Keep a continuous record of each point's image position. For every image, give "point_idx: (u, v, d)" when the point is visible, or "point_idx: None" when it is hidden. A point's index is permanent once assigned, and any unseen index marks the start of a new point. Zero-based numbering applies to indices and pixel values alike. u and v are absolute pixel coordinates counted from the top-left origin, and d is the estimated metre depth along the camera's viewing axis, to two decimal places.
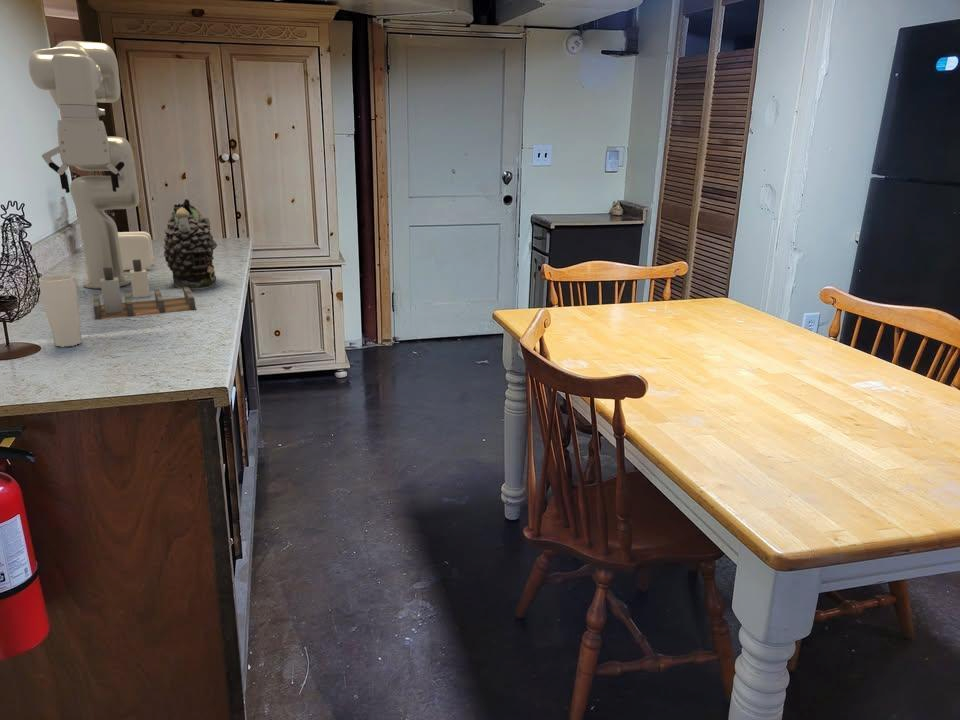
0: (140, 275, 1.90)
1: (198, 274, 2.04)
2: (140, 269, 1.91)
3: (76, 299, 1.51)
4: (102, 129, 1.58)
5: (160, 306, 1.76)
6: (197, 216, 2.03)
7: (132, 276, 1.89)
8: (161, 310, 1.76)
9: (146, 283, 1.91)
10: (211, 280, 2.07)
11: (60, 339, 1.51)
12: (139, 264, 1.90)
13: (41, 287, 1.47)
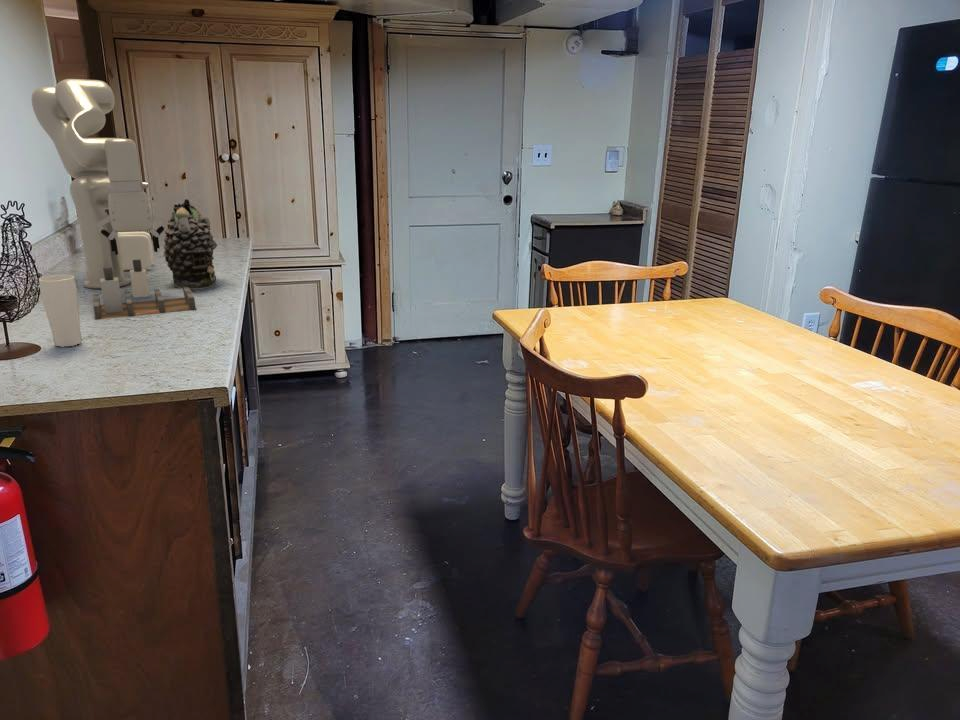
0: (140, 275, 1.90)
1: (198, 274, 2.04)
2: (140, 269, 1.91)
3: (76, 299, 1.51)
4: (146, 200, 1.85)
5: (160, 306, 1.76)
6: (197, 216, 2.03)
7: (132, 276, 1.89)
8: (161, 310, 1.76)
9: (146, 283, 1.91)
10: (211, 280, 2.07)
11: (60, 339, 1.51)
12: (139, 264, 1.90)
13: (41, 287, 1.47)
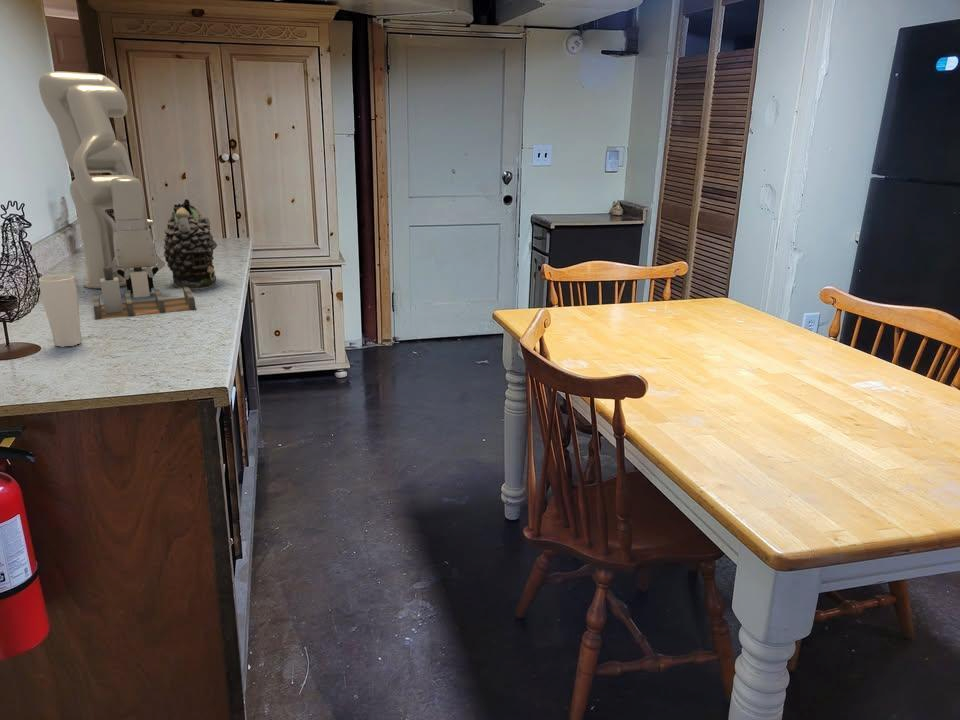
0: (140, 275, 1.90)
1: (198, 274, 2.04)
2: (140, 269, 1.91)
3: (76, 299, 1.51)
4: (150, 237, 1.88)
5: (160, 306, 1.76)
6: (197, 216, 2.03)
7: (132, 276, 1.89)
8: (161, 310, 1.76)
9: (146, 283, 1.91)
10: (211, 280, 2.07)
11: (60, 339, 1.51)
12: None
13: (41, 287, 1.47)
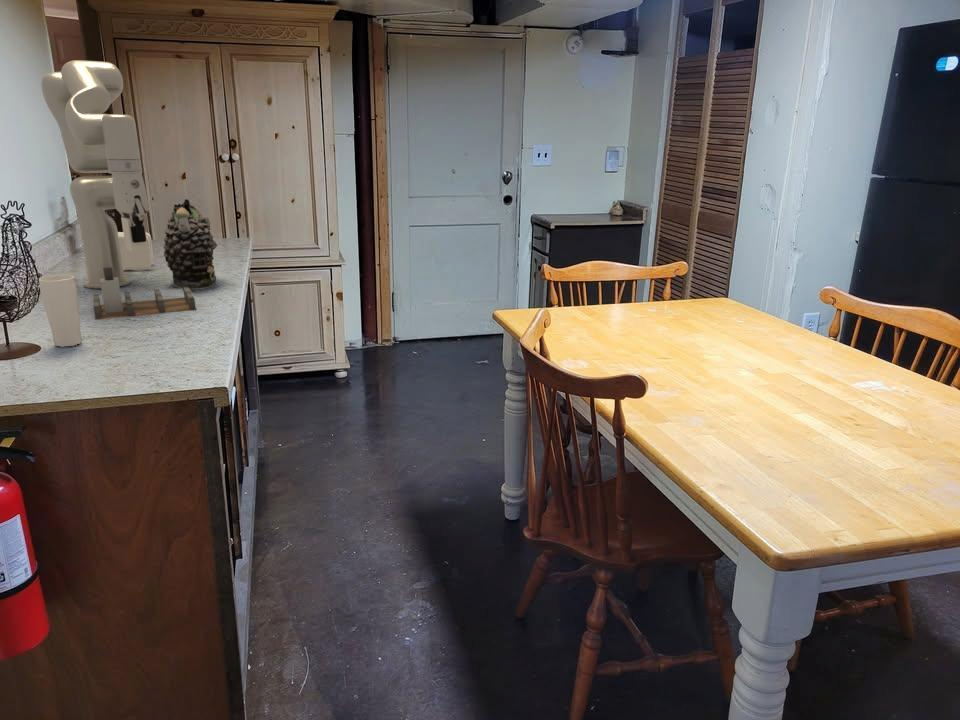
0: (125, 221, 1.76)
1: (198, 274, 2.04)
2: None
3: (76, 299, 1.51)
4: (125, 181, 1.70)
5: (160, 306, 1.76)
6: (197, 216, 2.03)
7: (122, 221, 1.77)
8: (161, 310, 1.76)
9: (128, 231, 1.76)
10: (211, 280, 2.07)
11: (60, 339, 1.51)
12: None
13: (41, 287, 1.47)
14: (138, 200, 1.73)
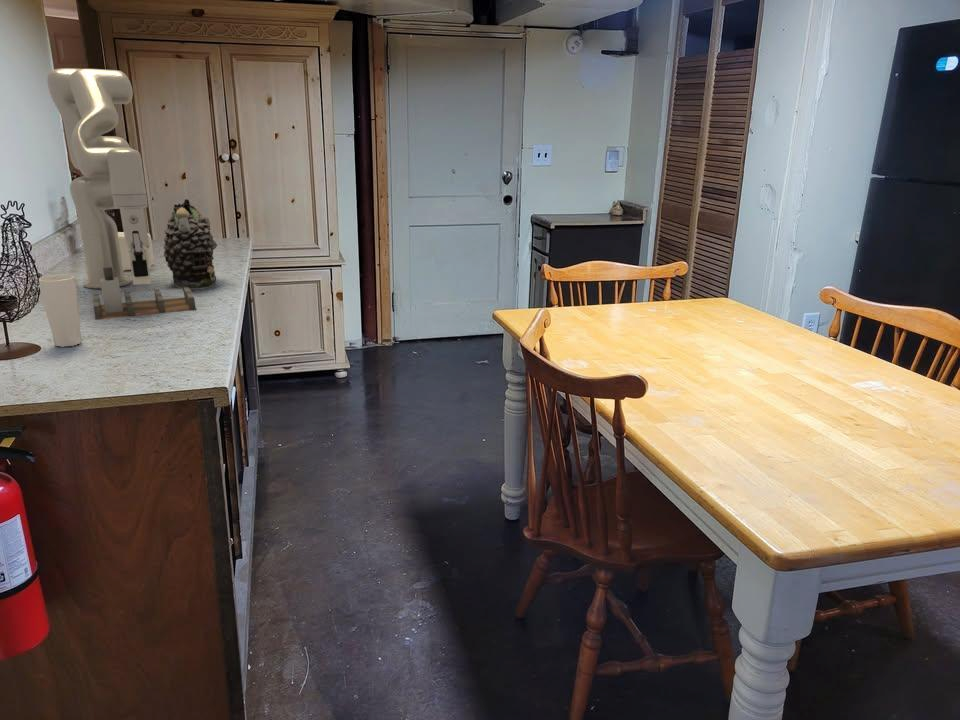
0: (129, 255, 1.75)
1: (198, 274, 2.04)
2: None
3: (76, 299, 1.51)
4: (124, 216, 1.69)
5: (160, 306, 1.76)
6: (197, 216, 2.03)
7: None
8: (161, 310, 1.76)
9: None
10: (211, 280, 2.07)
11: (60, 339, 1.51)
12: None
13: (41, 287, 1.47)
14: (137, 235, 1.70)
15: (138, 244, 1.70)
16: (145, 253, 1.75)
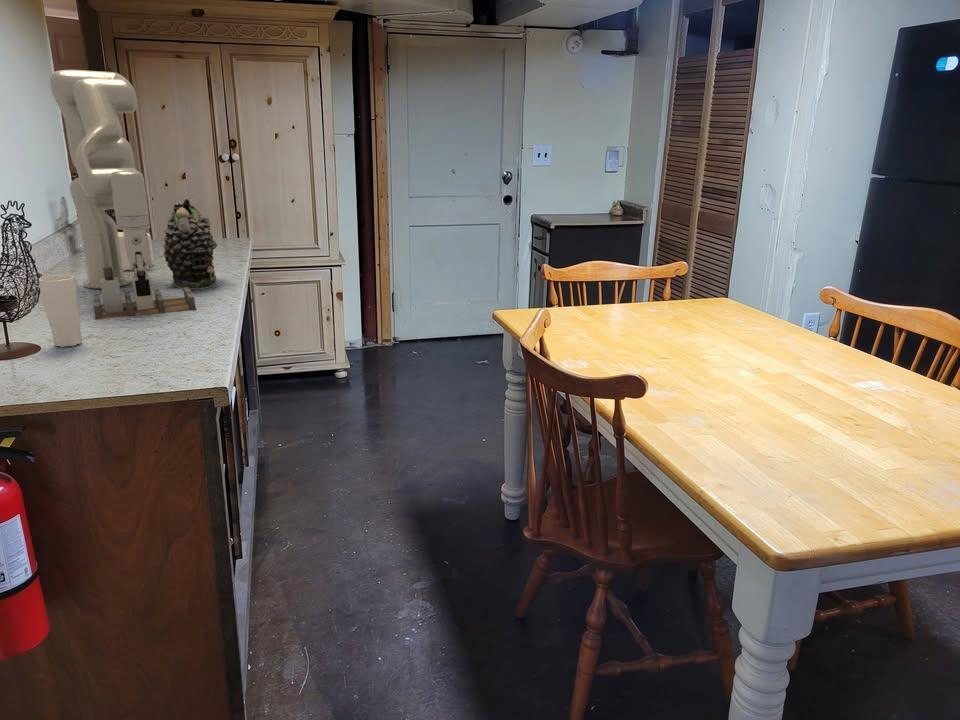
0: None
1: (198, 274, 2.04)
2: None
3: (76, 299, 1.51)
4: (127, 238, 1.70)
5: (160, 306, 1.76)
6: (197, 216, 2.03)
7: (132, 280, 1.79)
8: (161, 310, 1.76)
9: (134, 291, 1.77)
10: (211, 280, 2.07)
11: (60, 339, 1.51)
12: None
13: (41, 287, 1.47)
14: (139, 256, 1.72)
15: (140, 262, 1.71)
16: (148, 279, 1.77)
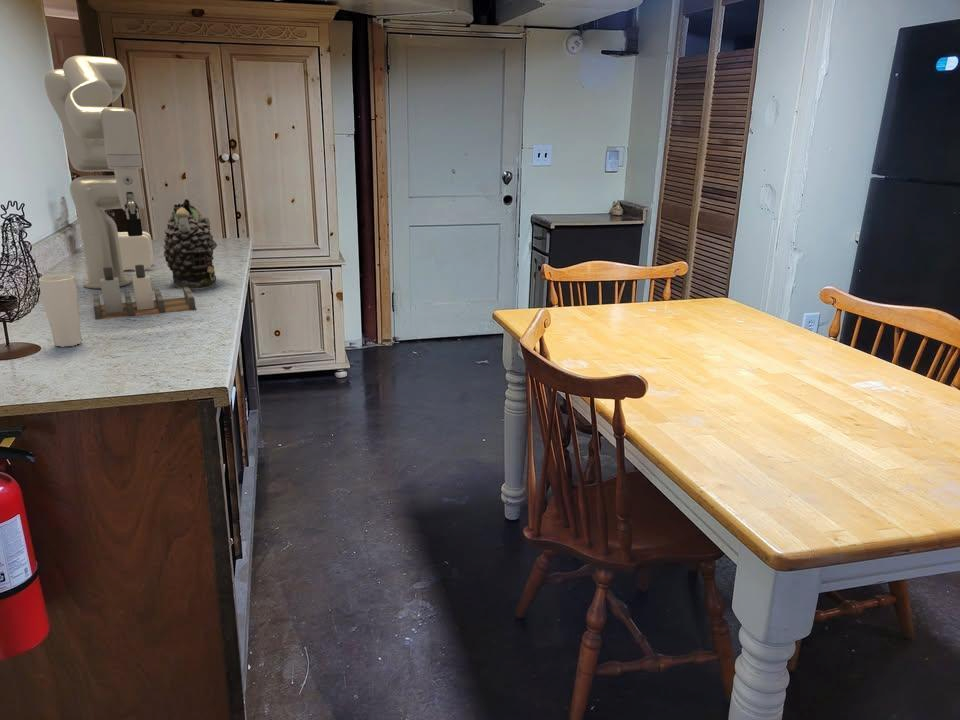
0: None
1: (198, 274, 2.04)
2: (137, 275, 1.77)
3: (76, 299, 1.51)
4: (118, 177, 1.66)
5: (160, 306, 1.76)
6: (197, 216, 2.03)
7: (132, 280, 1.79)
8: (161, 310, 1.76)
9: (134, 291, 1.77)
10: (211, 280, 2.07)
11: (60, 339, 1.51)
12: (136, 270, 1.77)
13: (41, 287, 1.47)
14: None
15: (131, 196, 1.67)
16: (148, 279, 1.77)
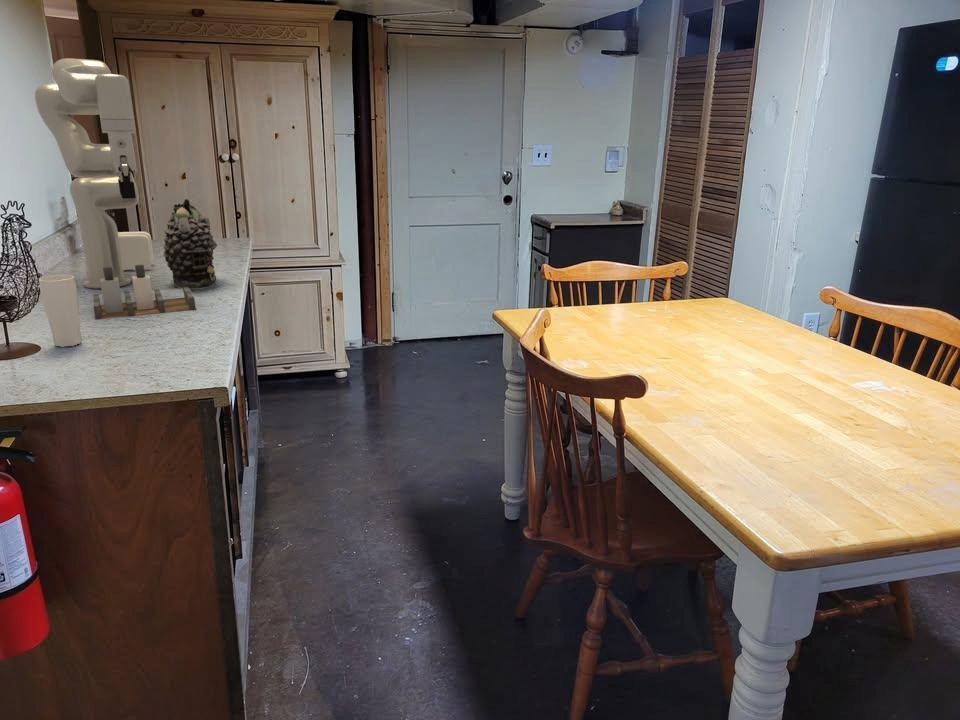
0: None
1: (198, 274, 2.04)
2: (137, 275, 1.77)
3: (76, 299, 1.51)
4: (112, 141, 1.72)
5: (160, 306, 1.76)
6: (197, 216, 2.03)
7: (132, 280, 1.79)
8: (161, 310, 1.76)
9: (134, 291, 1.77)
10: (211, 280, 2.07)
11: (60, 339, 1.51)
12: (136, 270, 1.77)
13: (41, 287, 1.47)
14: None
15: (124, 159, 1.73)
16: (148, 279, 1.77)
